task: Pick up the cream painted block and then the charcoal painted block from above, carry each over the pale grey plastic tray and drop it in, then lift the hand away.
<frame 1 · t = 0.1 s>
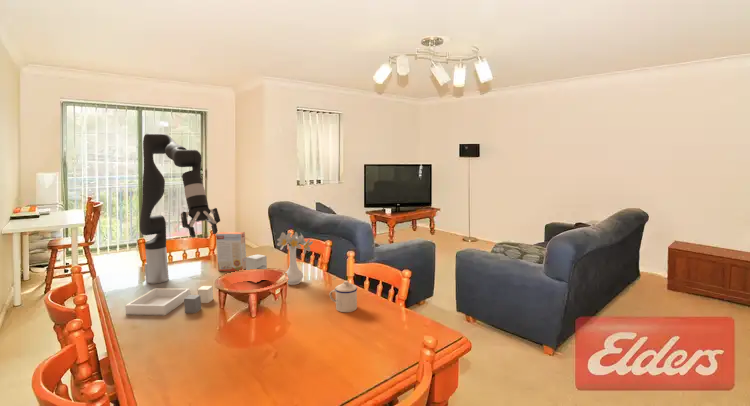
hand: (204, 235, 160), 31 cm above the table, tool tilted 20°, fingers open, 8 cm apart
cream block: (205, 301, 175), on the table
flower vase: (295, 283, 198), on the table
supplement box: (257, 281, 202), on the table
cracker box: (232, 270, 221), on the table
teacup with lid: (343, 308, 166), on the table
tray: (159, 305, 170), on the table
charcoal block: (193, 310, 164), on the table
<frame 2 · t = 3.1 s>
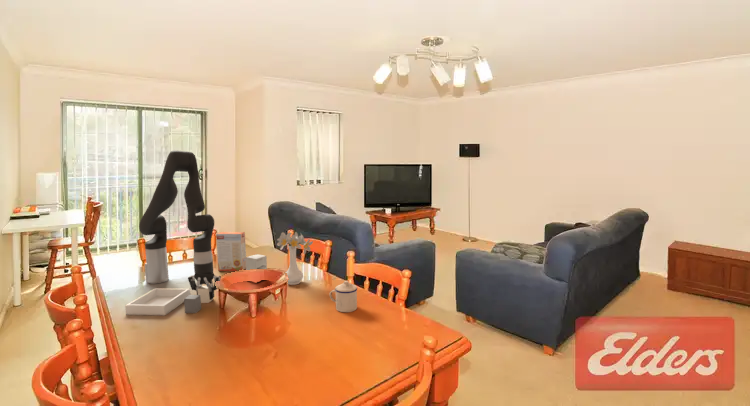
hand: (205, 298, 175), 1 cm above the table, tool pointing down, fingers closed on cream block, 4 cm apart
cream block: (205, 300, 175), on the table, touching gripper
everything else where it was.
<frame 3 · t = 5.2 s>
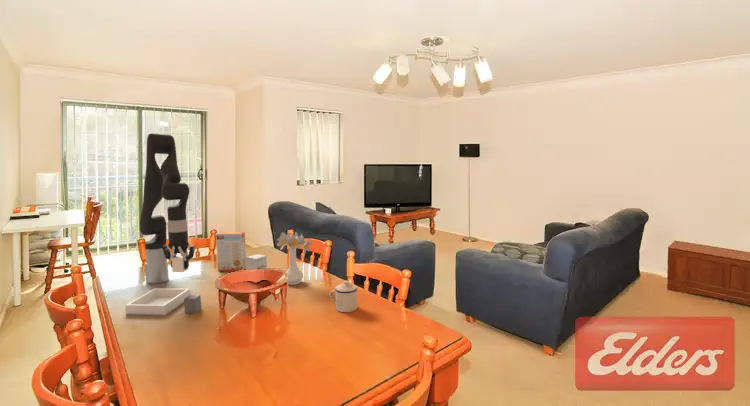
hand: (180, 268, 173), 15 cm above the table, tool pointing down, fingers closed on cream block, 4 cm apart
cream block: (180, 270, 173), point 14 cm above the table, touching gripper
everything else where it was.
when the fingers open (4 cm above the table, at t = 7.7 s): cream block drops 3 cm, resting on tray.
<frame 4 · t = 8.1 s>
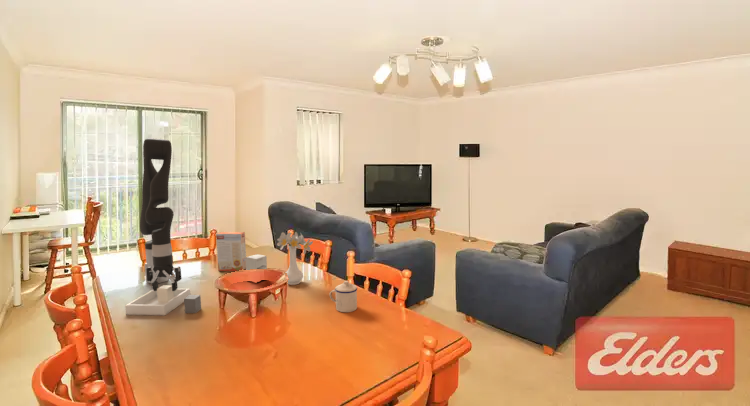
hand: (165, 290, 173), 5 cm above the table, tool pointing down, fingers open, 8 cm apart
cream block: (166, 300, 174), point 1 cm above the table, touching tray
everything else where it was.
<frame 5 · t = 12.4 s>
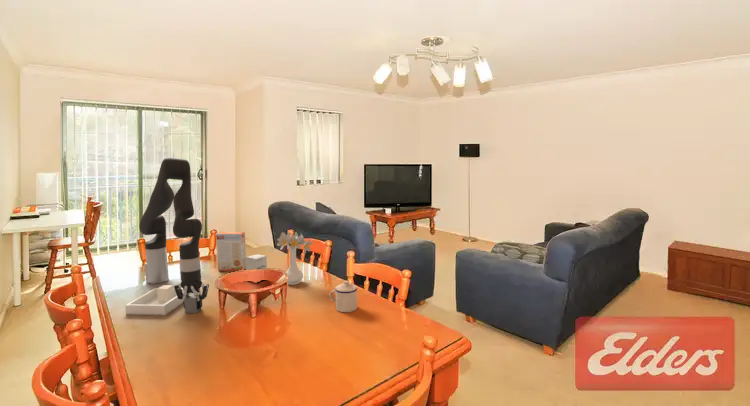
hand: (193, 308, 164), 1 cm above the table, tool pointing down, fingers closed on charcoal block, 4 cm apart
charcoal block: (193, 310, 164), on the table, touching gripper
everything else where it was.
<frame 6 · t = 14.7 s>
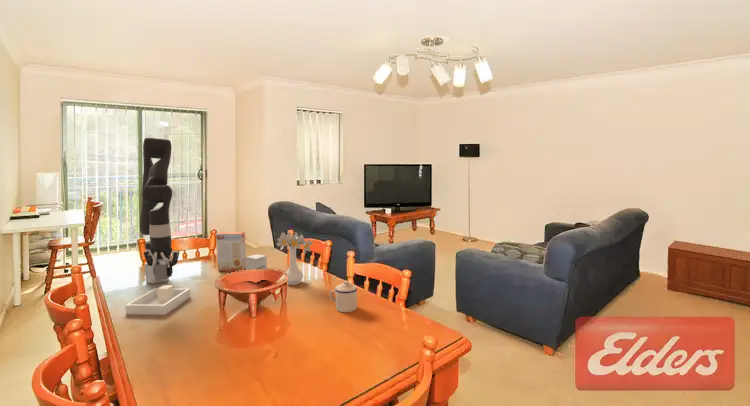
hand: (163, 275, 164), 14 cm above the table, tool pointing down, fingers closed on charcoal block, 4 cm apart
charcoal block: (163, 277, 164), point 14 cm above the table, touching gripper
everything else where it was.
when the fingers open (4 cm above the table, at t = 17.2 s): charcoal block drops 3 cm, resting on tray.
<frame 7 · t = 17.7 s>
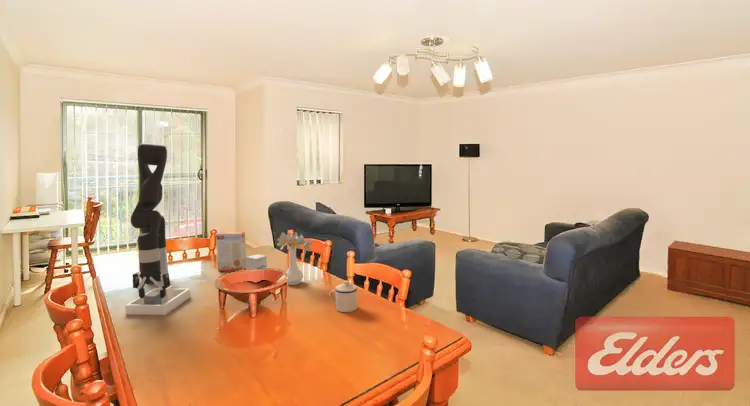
hand: (152, 297, 165), 5 cm above the table, tool pointing down, fingers open, 8 cm apart
charcoal block: (153, 308, 165), point 1 cm above the table, touching tray
everything else where it was.
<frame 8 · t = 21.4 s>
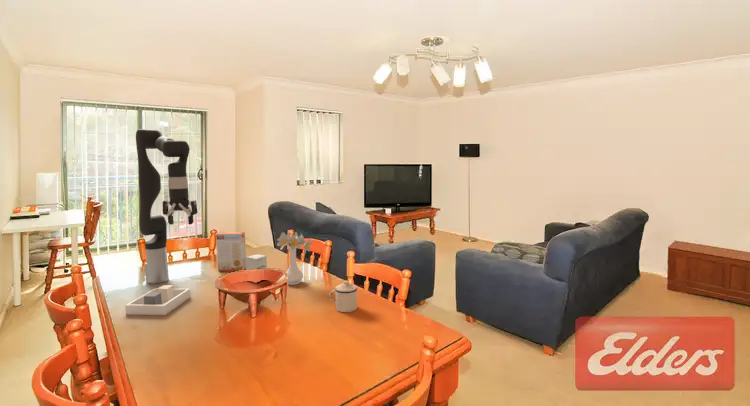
hand: (181, 224, 175), 33 cm above the table, tool pointing down, fingers open, 8 cm apart
nothing on the table moved.
at the end: cream block inside the target area on the tray (4.5 cm from its centre), point 0.6 cm above the tray's base; charcoal block inside the target area on the tray (4.5 cm from its centre), point 0.6 cm above the tray's base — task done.
